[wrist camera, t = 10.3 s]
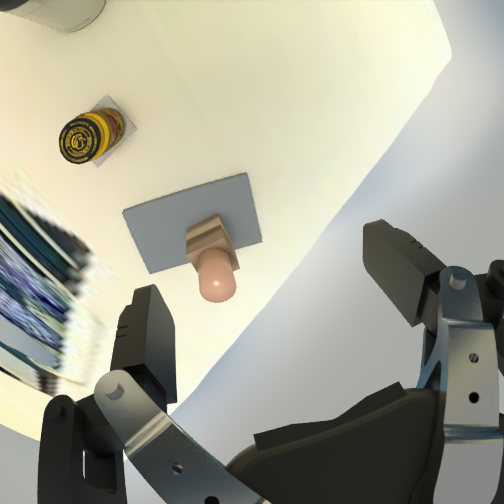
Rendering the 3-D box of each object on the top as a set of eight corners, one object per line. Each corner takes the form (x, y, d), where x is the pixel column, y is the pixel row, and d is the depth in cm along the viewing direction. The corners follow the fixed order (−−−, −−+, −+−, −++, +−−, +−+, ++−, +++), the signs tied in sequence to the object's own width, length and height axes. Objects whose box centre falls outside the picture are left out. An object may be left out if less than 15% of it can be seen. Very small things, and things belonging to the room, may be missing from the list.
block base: (186, 228, 45) (186, 240, 41) (217, 213, 44) (220, 224, 41) (201, 254, 48) (203, 268, 44) (231, 240, 47) (235, 253, 44)
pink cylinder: (193, 252, 38) (194, 279, 33) (224, 243, 38) (230, 268, 33) (203, 278, 40) (206, 306, 35) (233, 269, 40) (240, 296, 35)
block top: (186, 240, 41) (186, 255, 38) (220, 224, 41) (223, 237, 38) (203, 268, 44) (204, 283, 41) (235, 253, 44) (239, 268, 41)
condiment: (137, 128, 36) (117, 142, 26) (97, 167, 38) (69, 194, 27) (107, 94, 32) (77, 96, 22) (69, 134, 34) (31, 152, 24)
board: (123, 209, 42) (122, 213, 41) (245, 172, 43) (247, 174, 42) (150, 270, 48) (149, 274, 47) (260, 238, 50) (262, 241, 49)
